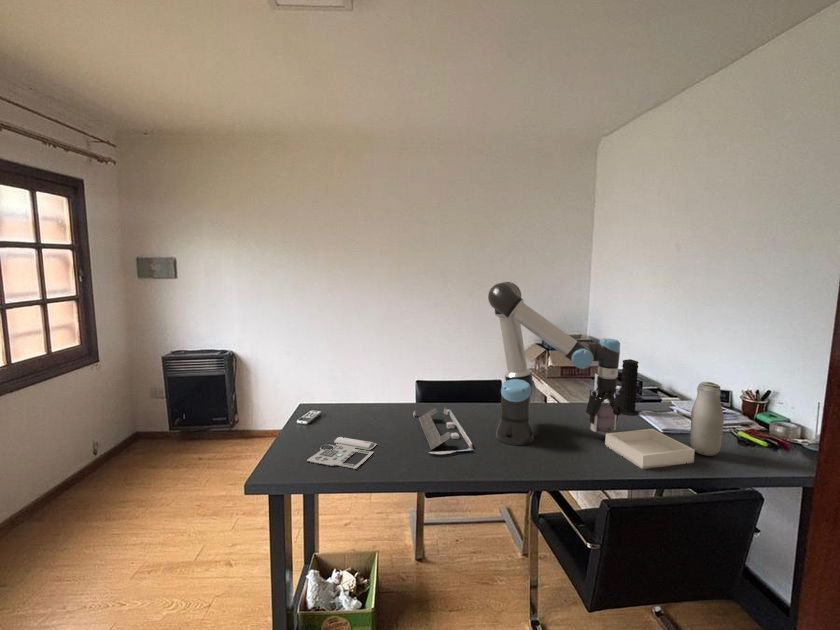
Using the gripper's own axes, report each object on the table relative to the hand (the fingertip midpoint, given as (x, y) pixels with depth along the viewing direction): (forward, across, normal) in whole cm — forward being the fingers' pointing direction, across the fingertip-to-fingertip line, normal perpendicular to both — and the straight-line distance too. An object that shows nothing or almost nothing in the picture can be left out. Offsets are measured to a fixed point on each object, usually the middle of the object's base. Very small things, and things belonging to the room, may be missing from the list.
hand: (602, 429), depth 173 cm
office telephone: (+7, -104, +10) cm, 105 cm away
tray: (+3, +8, -16) cm, 18 cm away
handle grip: (+4, +32, +25) cm, 41 cm away
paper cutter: (+6, -64, +21) cm, 67 cm away
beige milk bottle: (+3, +28, -21) cm, 36 cm away
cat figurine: (+1, 0, 0) cm, 1 cm away
